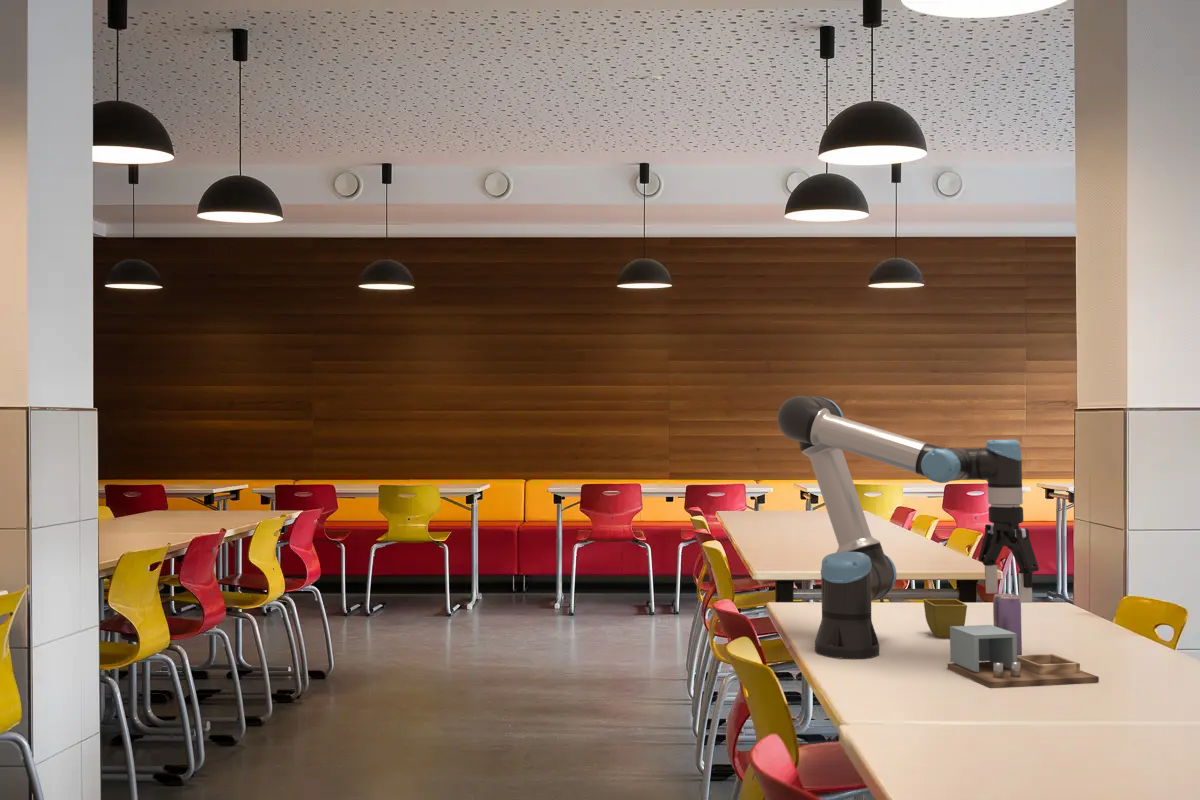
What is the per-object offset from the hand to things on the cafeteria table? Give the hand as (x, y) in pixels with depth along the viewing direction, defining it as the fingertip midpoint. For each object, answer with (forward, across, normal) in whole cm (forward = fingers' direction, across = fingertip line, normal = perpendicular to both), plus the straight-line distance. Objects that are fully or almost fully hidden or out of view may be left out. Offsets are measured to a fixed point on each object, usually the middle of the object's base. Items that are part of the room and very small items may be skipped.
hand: (1008, 597), depth 229 cm
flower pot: (+14, +28, 0) cm, 32 cm away
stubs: (+13, -18, +12) cm, 26 cm away
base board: (+15, -13, +6) cm, 20 cm away
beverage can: (+15, 0, 0) cm, 15 cm away
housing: (+13, -9, +12) cm, 20 cm away
